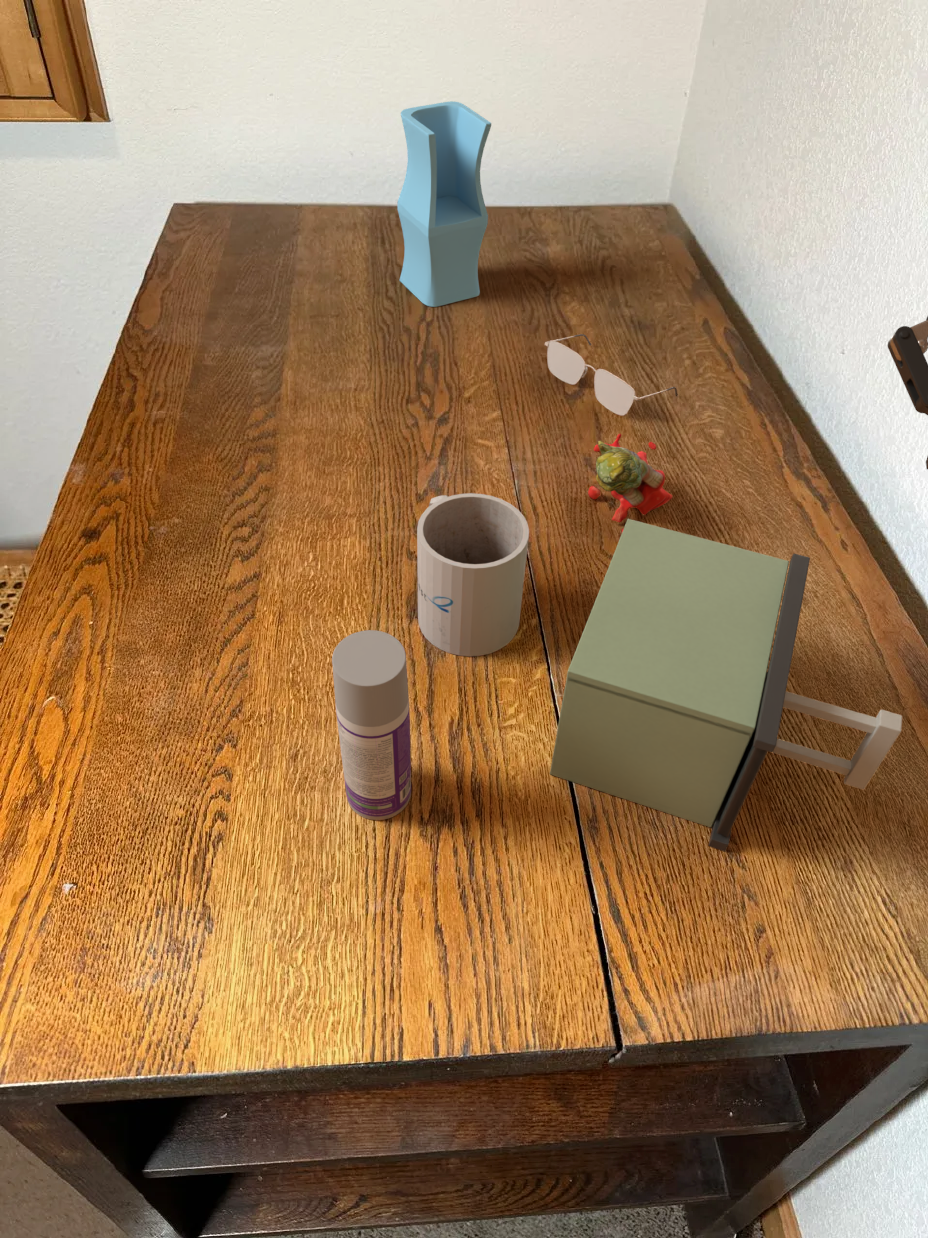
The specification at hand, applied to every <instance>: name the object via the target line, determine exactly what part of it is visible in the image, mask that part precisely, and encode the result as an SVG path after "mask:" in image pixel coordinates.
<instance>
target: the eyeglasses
mask: <svg viewBox="0 0 928 1238" xmlns="http://www.w3.org/2000/svg"><path fill="white" fill-rule="evenodd" d="M578 337H584V339H586V342H587V343H588V346H590V347H591V346H592V343H591V341H590V340H589V338H588V336H587V335H586V334H583V333H579V334H575V335H571V336H567V337H563V338H558V339H554V340H553V339H552V340H548V341H545V342H544V346H546V347H547V349H546V350H547V351H546V357H547V358H546V359H547V360H546V361H547V368H548V370H549V372H550V373H551V374H552V375H553V376H554V377H556V378H557V379H559V380H560V381H562V382H564V383H566V384H569V385H572V386H573V385H574V386H575V385H576V384H578V382H579V381H580V379H584V378H585V377H586V376H587V373H588V370H589V369H588V367H589V368H591V369H592V370H593V372H594V379H593V387H594V388H593V389H594V394H595V395H594V396H595V398H596V400H597V402H598V403H600V404H601V405H602V406H604V408H605V409H606V410H608V411H610V412H611V413H614V414H615V415H618V416H626V415H627V414H628V413H629V411H630V409H631V407H632V406H633V403H634V400H635V401H641V400H644V399H647V398H650V397H653V396H656V395H658V394H662V393H664V392H668V391H670V390H673V389H674V392H675V393H674V394H675V396H676V397H678V396H679V394H678V390H677V388H676V387H675V386H672V387H669V388H667V389H664V390H660V391H657V392H653V393H651V394H647V395H644V396H641V397H637V396H636V391H635V389H634V388H633V387H632V386H631V385H630V384H629V383H627V382H626V381H624V380H623V379H622V378H620V377H618V376H617V375H615V374H614V373H612V372H610V371H609V370H606V369H604V368H598V369H595V367H593V366H592V365H590V364H587V363H586V361H585V359H584V358H583V356H581V354H579V353H578V352H576V351H575V350H574V349H572V348H570V347H568V346H567V345H564V344H563V343H560V342H561V341H564V340H567V339H572V338H578ZM559 341H560V342H559Z"/></svg>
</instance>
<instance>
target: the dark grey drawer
mask: <svg viewBox="0 0 928 1238" xmlns="http://www.w3.org/2000/svg"><path fill="white" fill-rule="evenodd" d="M768 669H769V667H768V668H767V673H766V678H765V683H764V688H763V693H762V698H761V703H760V707H759V712H758V717H757V722H756V727H755V730H754V732H753V734H752V737H751V739H750V741H749V743H748V746H747V748H746V750H745V752H744V755H743V757H742V759H741V762H740V764H739V766H738V768H737V771H736V773H735V775H734V777H733V780H732V782H731V784H730V787H729V789H728V791H727V793H726V796H725V800H724V804H723V809H722V813H721V818H720V822H719V824H718V828H717V834H720V835H723V836H726V837H728V835H729V833H730V831H731V829H732V830H733V827H734V824H735V823H736V820H737V818H738V816H739V814H740V812H741V810H742V808H743V805H744V803H745V801H746V799H747V797H748V795H749V793H750V791H751V789H752V787H753V785H754V782H755V780H756V778H757V776H758V774H759V772H760V770H761V768H762V765H763V763H764V761H765V759H766V758H767V757H766V756H767V755H768V751H765V750H762V749H759V748H755V747H753V743H754V738H755V733H756V728H757V723H758V718H759V713H760V708H761V704H762V699H763V694H764V689H765V684H766V679H767V674H768ZM783 709H788V710H791V711H794V712H797V713H801V714H804V715H807V716H810V717H814V718H817V719H821V720H825V721H828V722H830V723H835V724H838V725H842V726H844V727H848V728H852V729H855V730H857V731H861V732H865V733H866V734H865V735H864V737H863V738H862V740H861V742H860V744H859V745H858V747H857V748H856V750H855V752H854V754H853V756H852V757H851V759H850V760H849V759H846V758H843V757H839V756H836V755H832V754H830V753H826V752H823V751H820V750H817V749H814V748H810V747H807V746H803V745H799V744H797V743H795V742H790V741H787V740H784V739H781V738H777V743H776V747H775V749H774V751H773V752H771V753H772V754H774V755H775V754H776V755H778V756H782V757H785V758H788V759H791V760H795V761H797V762H801V763H805V764H806V765H807V764H808V765H811V766H813V767H817V768H821V769H823V770H827V771H830V772H833V773H837V774H840V775H843V776H844V780H843V784H844V785H846V786H850V787H853V788H856V789H859V790H865V789H866V788H867V786H868V784H869V783H870V781H871V780H872V778H873V776H874V775H875V774H876V772H877V770H878V769H879V767H880V765H881V764H882V762H883V761H884V759H885V758H886V756H887V754H889V751H890V750H891V748H892V747H893V745H894V744H895V742H896V741H897V739H898V737H899V736H900V734H901V733H902V728H903V727H902V725H903V715H902V714H898V713H895V712H891V711H888V710H885V709H879V712H878V713H877V715H876V716H872V715H868V714H865V713H861V712H858V711H855V710H851V709H847V708H845V707H841V706H838V705H835V704H831V703H827V702H824V701H820V700H817V699H813V698H810V697H808V696H803V695H801V694H796V693H793V692H790V691H787V690H786V694H785V699H784V705H783ZM731 832H732V831H731Z"/></svg>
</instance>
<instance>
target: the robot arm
mask: <svg viewBox="0 0 928 1238" xmlns="http://www.w3.org/2000/svg"><path fill="white" fill-rule="evenodd" d="M887 349H888V351H889V353H890V355H891V357H892V360H893V362H894V365H895V367H896V369H897V371H898V373H899V374H898V375H899V376H900V378H901V380H902V382H903V385H904V387H905V389H906V392H907V394H908V396H909V398H910V401H911V404H912V405H913V407H914V410H915V411H916V412H917V413H919V414H925V415H926V416H928V361H927V359H926V357H925V355H924V354H925V353H926V352H927V351H928V315H927V317H926V319H925V320H924V321H922V322H919V323H917V324H914V325H912V326H911V327H910V326H907V325H903V326H900V327H898V328H897V329H896V330H895V332H894V334H892V336H891V337H890V338H889V340H888V342H887ZM925 467H926V468H925V469H926V470H928V455H927V457H926V460H925Z"/></svg>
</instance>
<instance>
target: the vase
mask: <svg viewBox="0 0 928 1238" xmlns="http://www.w3.org/2000/svg"><path fill="white" fill-rule="evenodd" d="M400 118H401V122H402V126H403V131H404V136H405V142H406V149H407V150H406V151H407V164H406V173H405V177H404V182H403V184H402V188H401V191H400V193H399V197H398V199H397V213H398V217H399V221H400V226H401V229H402V237H403V245H404V253H403V254H404V256H403V263H402V268H401V272H400V277H399V282H400V283H401V284H402V285H403V286H404V287H405V288H406V289H407V290H408V291H409V292H410V293H412V295H414V297H415V298H417V300H419V301H420V303H422V304H423V305H425V306H427V307H432V308H435V307H441V306H445V305H450V304H453V303H456V302H457V303H458V302H461V301H464V300H465V301H466V300H469V299H472V298H477V297H478V296H480V294H481V290H480V283H479V271H478V270H479V257H480V252H481V247H482V243H483V239H484V236H485V233H486V231H487V227H488V223H489V213H488V210H487V207H486V203H485V200H484V196H483V189H482V183H481V167H482V159H483V154H484V150H485V146H486V142H487V140H488V137H489V134H490V131H491V127H492V122H491V121H489V120H487V119H486V118H484V117H483V116H481V115H480V114H479V113H478V112H476V111H474V110H473V109H471V108H470V107H468V106H466V105H465V104H464V103H462V102H459V101H453V100H451V101H450V100H449V101H443V102H437V103H431V104H425V105H420V106H415V107H414V106H413V107H409V108H405V109H403V110H401V112H400Z"/></svg>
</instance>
